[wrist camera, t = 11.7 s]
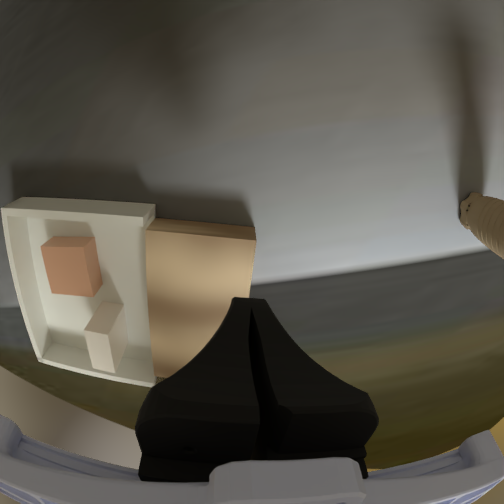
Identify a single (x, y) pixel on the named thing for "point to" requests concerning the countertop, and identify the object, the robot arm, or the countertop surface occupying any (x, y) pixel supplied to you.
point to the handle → (485, 220)
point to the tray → (80, 307)
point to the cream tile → (107, 336)
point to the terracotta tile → (72, 265)
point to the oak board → (192, 284)
